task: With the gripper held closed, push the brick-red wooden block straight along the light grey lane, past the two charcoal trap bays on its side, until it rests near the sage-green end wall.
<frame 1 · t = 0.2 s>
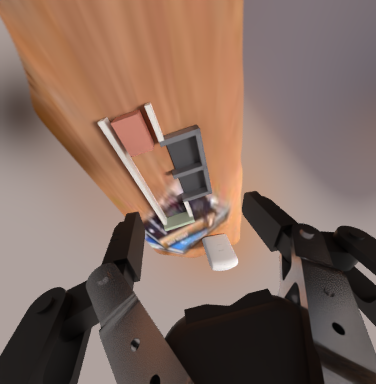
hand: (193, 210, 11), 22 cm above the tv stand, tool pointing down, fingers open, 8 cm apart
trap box: (157, 174, 33), on the tv stand
photo printer: (213, 236, 57), on the tv stand
red block: (136, 130, 27), on the tv stand
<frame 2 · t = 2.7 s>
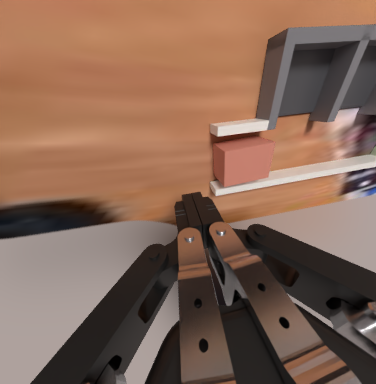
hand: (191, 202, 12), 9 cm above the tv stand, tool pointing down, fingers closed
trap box: (299, 146, 21), on the tv stand
red block: (233, 155, 20), on the tv stand
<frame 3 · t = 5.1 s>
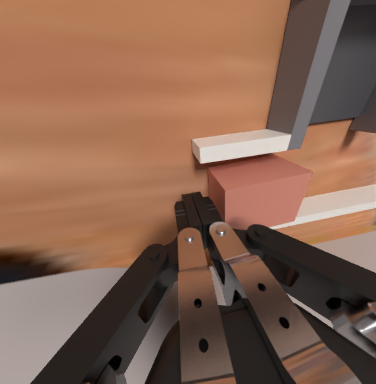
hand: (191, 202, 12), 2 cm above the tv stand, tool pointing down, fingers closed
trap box: (330, 166, 14), on the tv stand
red block: (238, 182, 13), on the tv stand, touching gripper
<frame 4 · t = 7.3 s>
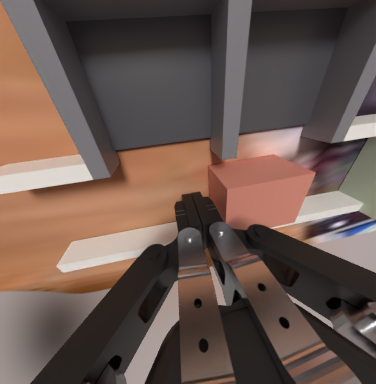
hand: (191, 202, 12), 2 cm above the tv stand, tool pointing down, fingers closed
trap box: (210, 187, 13), on the tv stand
red block: (239, 182, 13), on the tv stand, touching gripper
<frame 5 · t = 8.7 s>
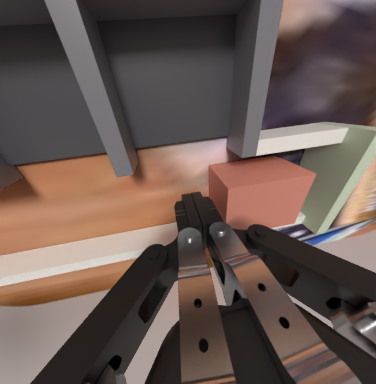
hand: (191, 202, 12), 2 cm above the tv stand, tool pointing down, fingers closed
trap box: (138, 200, 12), on the tv stand
red block: (239, 182, 13), on the tv stand, touching gripper
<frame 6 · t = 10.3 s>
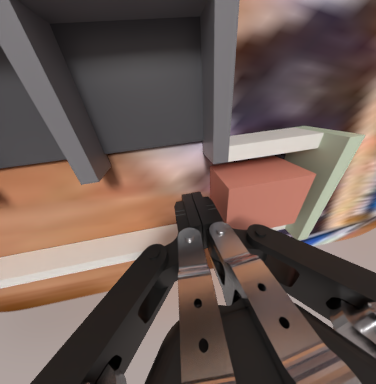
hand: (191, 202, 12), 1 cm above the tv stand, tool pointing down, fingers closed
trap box: (114, 205, 12), on the tv stand
red block: (239, 182, 13), on the tv stand
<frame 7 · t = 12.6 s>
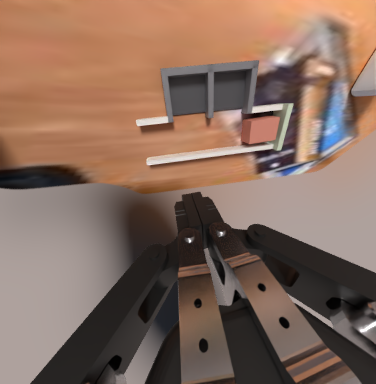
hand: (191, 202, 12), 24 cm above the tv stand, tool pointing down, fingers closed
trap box: (205, 134, 32), on the tv stand
photo printer: (370, 67, 29), on the tv stand
red block: (254, 128, 33), on the tv stand
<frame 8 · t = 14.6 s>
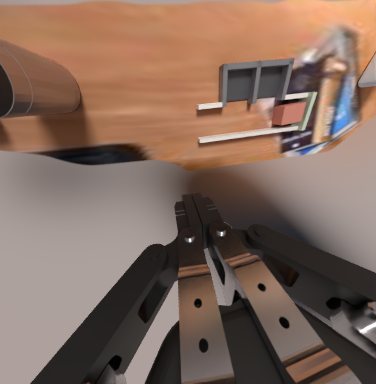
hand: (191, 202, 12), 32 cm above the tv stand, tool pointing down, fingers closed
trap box: (245, 118, 40), on the tv stand
photo printer: (372, 64, 38), on the tv stand
red block: (282, 113, 41), on the tv stand
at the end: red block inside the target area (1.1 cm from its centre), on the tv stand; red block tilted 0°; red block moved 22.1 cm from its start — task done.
